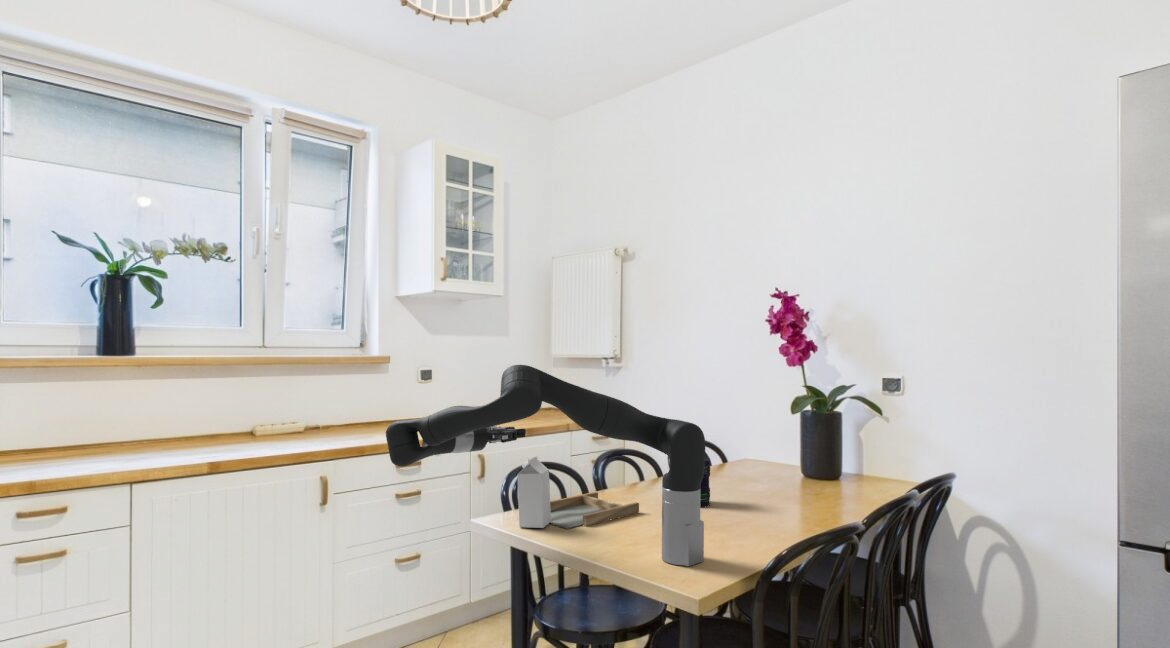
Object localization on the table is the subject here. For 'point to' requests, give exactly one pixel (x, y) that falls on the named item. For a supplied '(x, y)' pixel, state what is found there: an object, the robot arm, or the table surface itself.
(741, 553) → the table surface
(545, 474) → the milk carton
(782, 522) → the table surface
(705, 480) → the dark blue barrel
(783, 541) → the table surface
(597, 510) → the tray
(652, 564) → the table surface
